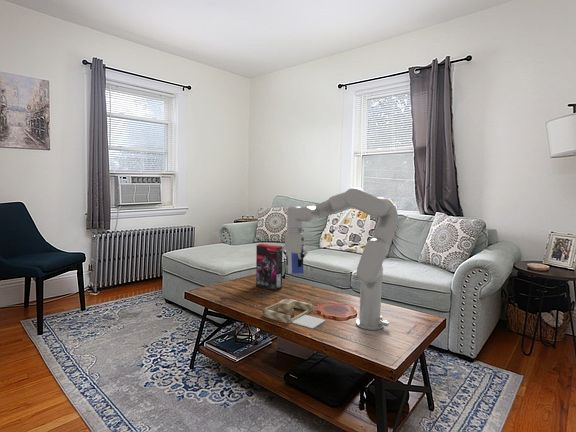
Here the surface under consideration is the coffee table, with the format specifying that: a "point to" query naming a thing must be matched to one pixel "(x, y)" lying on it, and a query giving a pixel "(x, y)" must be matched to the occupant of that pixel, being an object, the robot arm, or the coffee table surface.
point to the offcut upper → (285, 305)
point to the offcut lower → (288, 313)
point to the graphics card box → (269, 266)
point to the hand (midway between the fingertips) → (294, 265)
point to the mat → (308, 321)
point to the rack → (271, 313)
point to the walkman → (294, 263)
